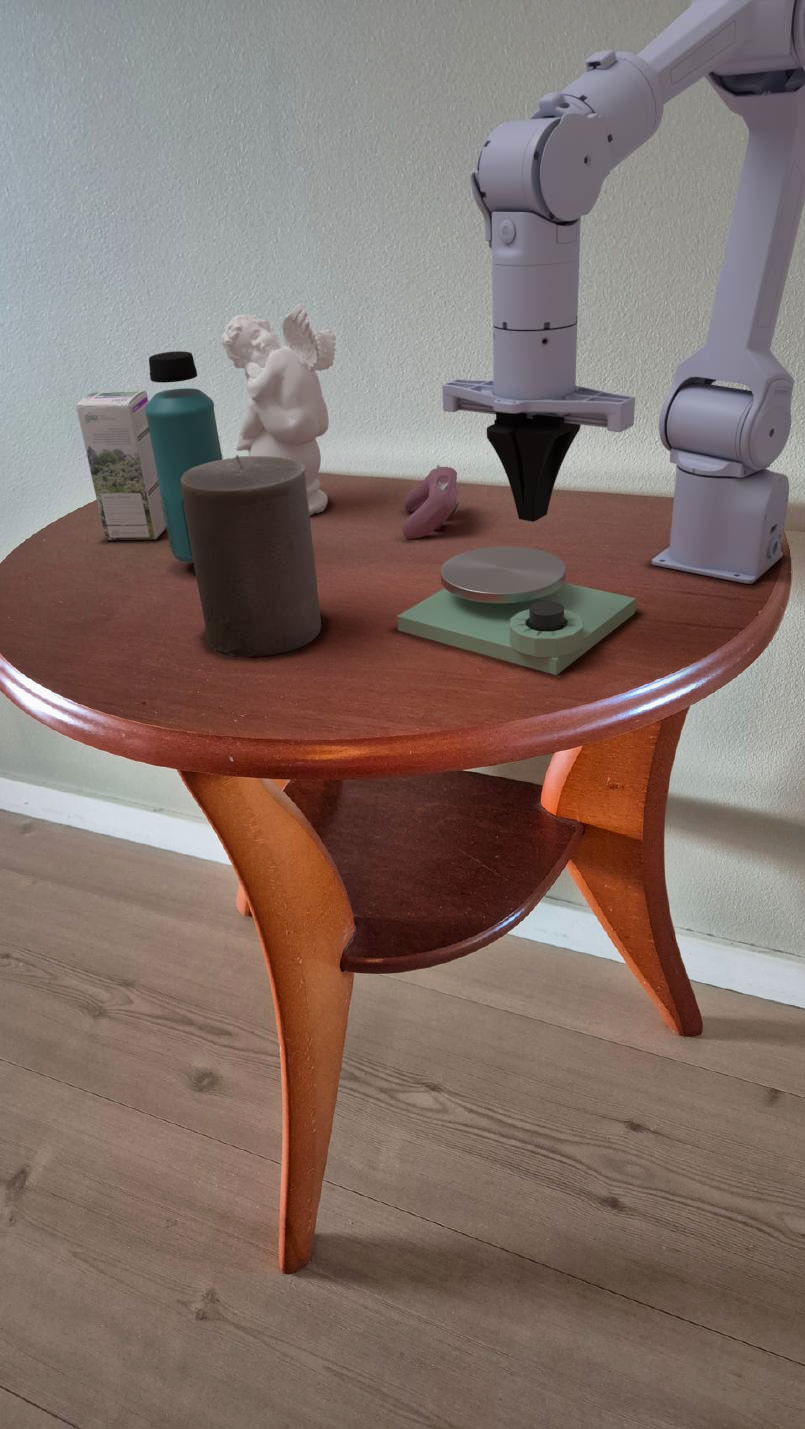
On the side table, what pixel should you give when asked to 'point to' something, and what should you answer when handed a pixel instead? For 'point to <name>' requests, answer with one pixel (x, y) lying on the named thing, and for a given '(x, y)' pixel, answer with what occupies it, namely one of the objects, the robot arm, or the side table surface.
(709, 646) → the side table surface
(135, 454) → the syrup box
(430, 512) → the video game controller
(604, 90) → the robot arm
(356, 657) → the side table surface
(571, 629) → the scale
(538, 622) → the tare button
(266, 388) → the cherub figurine
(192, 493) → the pillar candle
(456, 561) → the scale pan
